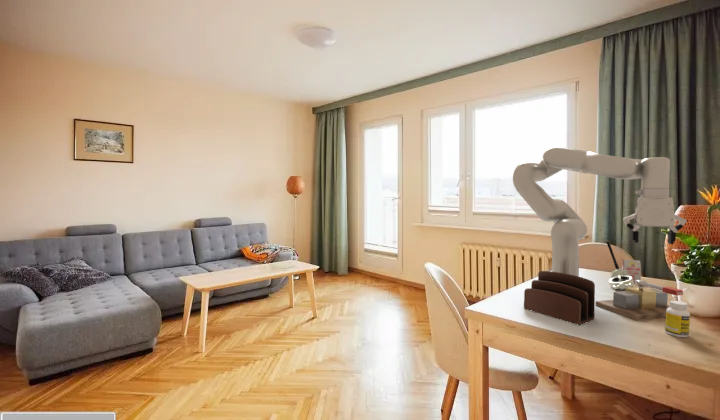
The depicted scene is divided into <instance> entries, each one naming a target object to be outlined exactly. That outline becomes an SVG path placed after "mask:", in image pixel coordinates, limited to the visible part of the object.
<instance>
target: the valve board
mask: <svg viewBox="0 0 720 420" xmlns="http://www.w3.org/2000/svg"><path fill="white" fill-rule="evenodd" d="M595 306H597V307H599V308H603V309H605V310H607V311H611V312H613V313H616V314H619V315H621V316H623V317H627V318H629V319H631V318H632V320H635V321H642V320H654V319H661V318H666V310H667V308H669V307H671V306H670V304H667V306H664V307H656V308H651V309H631V310H625V309H622V308H619V307H616V306H613V299H607V300H595Z"/></svg>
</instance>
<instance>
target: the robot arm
mask: <svg viewBox="0 0 720 420" xmlns="http://www.w3.org/2000/svg"><path fill="white" fill-rule="evenodd" d="M562 170H565V171H566V170H567V171H571V172H574V173H575V172H576V173H580V174H590V175H596V176H601V177H607V178H612V179H617V180H629V181H631V180H638V179H640V180H641V181H640V189H638V190H635V194H636V195H638V196H640V197H637V202H636V206H635V213H633V214H630V215H629V216H625V217H623V219H622V221H623V222H624V224H625V226H626V227H627V228H628V229H629V230H630V231H631V240H632V241H633V242H634V243H636V244H637V243H639V234H640V233H639V231H638V230H639V229H640V228H641V227H648V228H649V227H652V228H653V227H655V228H656V227H658V228H667V229H668V230H669V231H668V232H667V243H668V244H670V245H674V243H675V242H676V241H677V240H676V239H677V238H676V235H677V232H678V231H680V230H681V229H682V228H683V227H684V225H685V224H686V223H687V222H688V221H687V219H686V218H684V217H681V216H678V215H676V214H675V206H674V200H673V197H670V175H671V173H670V171H671V160H670V158H668V157H666V156H659V157H658V156H657V157H656V156H655V157H646V158H643V159H642V158H641V159H640V158H639V159H636V158H630V157H624V156H616V155H608V154H602V153H597V152H593V151H590V150H583V149H576V148H567V147H560V146H551V147H549V148H547V149H546V150H545V151H544V153H543V154H542V159H541V160H539V161H537V162H535V161H524V162H521V163H520V164H517V166H516V167H515V169H514V171H513V174H512V183H513V186H514V188H515V190H516V191H517V193H518V194H519V195H520V197H522V198H523V200H524V201H525V202H526V204H527V205H528V206H529V207H530V208H531V210H532V211H534V213H535V214H536V216H537V217H539V219H540V220H542V222H543V221H544V222H549V223H550V222H551V223H553V225H552V227H551V230H550V238H551V246H552V247H551V248H552V249H551V250H552V251H551V252H552V253H551V254H552V255H551V259H552V260H551V272H559V273H565V274H570V275H574V276H578V277H580V274H579V272H580V247H579V241H580V240H584V238H585V237H586V236H587V234H588V226H587V224H586V222H585V221H584V220H583V219H582V218H581V217H580V216H579V214H578V213H577V212H576V211H575V210H574V209H573V208H572V206H571V205H569V204H568V203H567V202H566V201H564V200H563V199H560V198H559V199H558V198H553V197H551V196H550V194H549V193H547V192H546V191H545V189H544V188H543V187H541V186H540V185H539V184H538V183H537V182H542V181H544V180H546V179H548V178H550V177H552V176H553V175H555V174H558V173H560V172H561V171H562ZM633 219H634V225H633V224H632V223H631V220H633ZM675 221H678V223H677V224H676V225H675ZM674 225H675V226H674Z"/></svg>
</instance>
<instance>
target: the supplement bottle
mask: <svg viewBox="0 0 720 420" xmlns="http://www.w3.org/2000/svg"><path fill="white" fill-rule="evenodd" d="M669 305H670V306H671V307H669V308H667V310H666V317H665V325H664V326H665V327H664V328H665V329H664V330H665V333H666V334H668V335H670V336H673V337H678V338H688V337H689V335H690V325H691V324H690V323H691V314H690V311H689V310H687V309H688V306H689V305H688V303H687V302H684V301H681V300H670V301H669Z"/></svg>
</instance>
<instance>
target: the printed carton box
mask: <svg viewBox="0 0 720 420" xmlns="http://www.w3.org/2000/svg"><path fill="white" fill-rule="evenodd" d="M641 265H642V264H641V260H636V259H635V260H634V259H622V262H621V268H622V269H625V270H627V273H628V275H629V276H631V277H632V279H633V281H634V283H635V280H642V279H641V276H642V266H641Z"/></svg>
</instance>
